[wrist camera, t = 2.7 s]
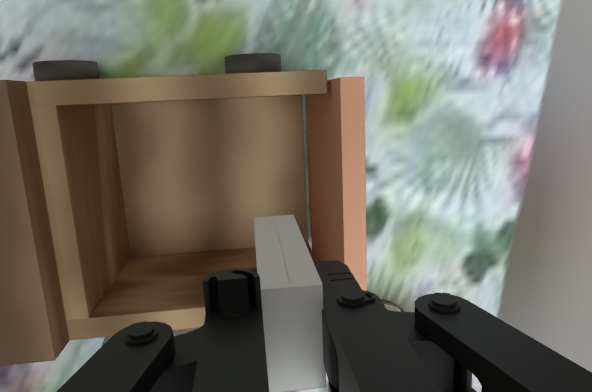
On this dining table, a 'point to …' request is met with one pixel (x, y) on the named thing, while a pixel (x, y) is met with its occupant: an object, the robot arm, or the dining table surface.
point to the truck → (138, 193)
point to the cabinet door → (338, 174)
